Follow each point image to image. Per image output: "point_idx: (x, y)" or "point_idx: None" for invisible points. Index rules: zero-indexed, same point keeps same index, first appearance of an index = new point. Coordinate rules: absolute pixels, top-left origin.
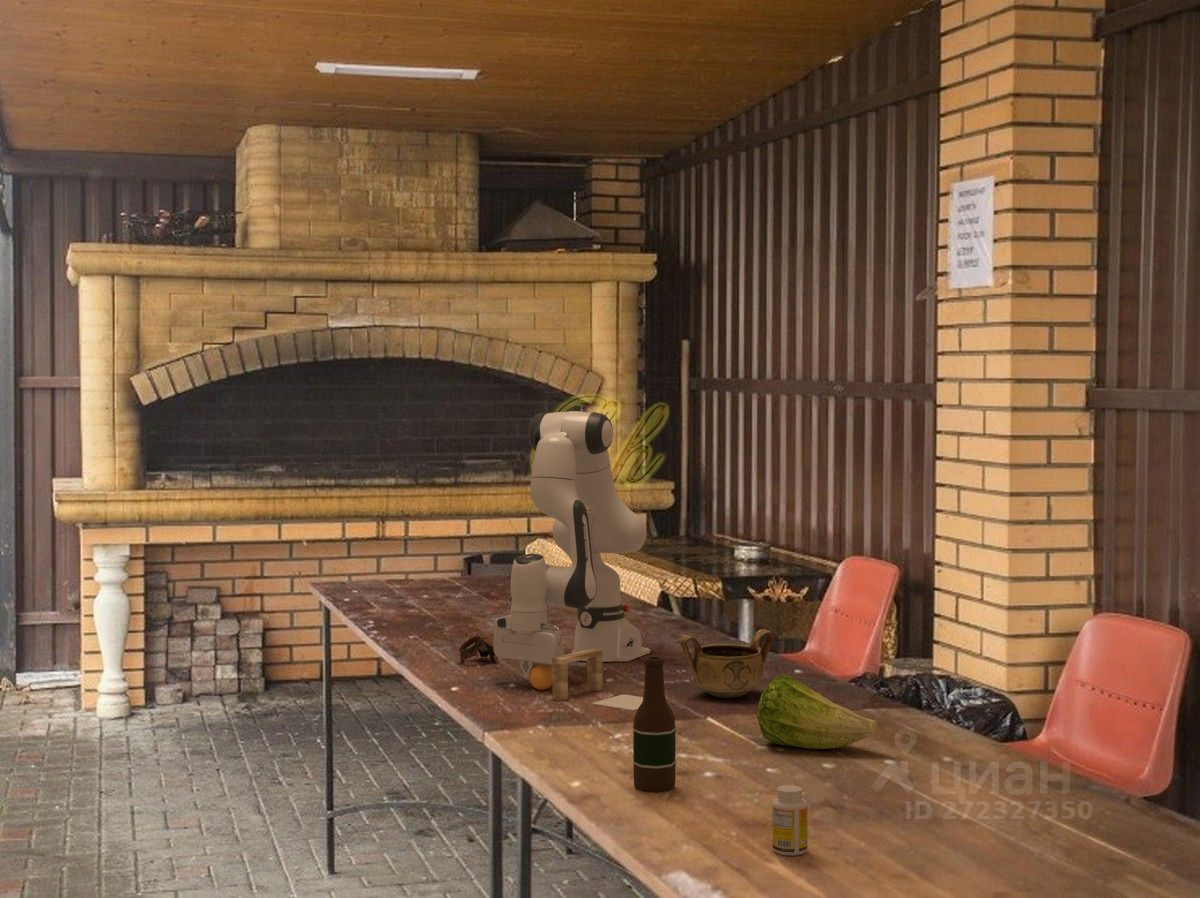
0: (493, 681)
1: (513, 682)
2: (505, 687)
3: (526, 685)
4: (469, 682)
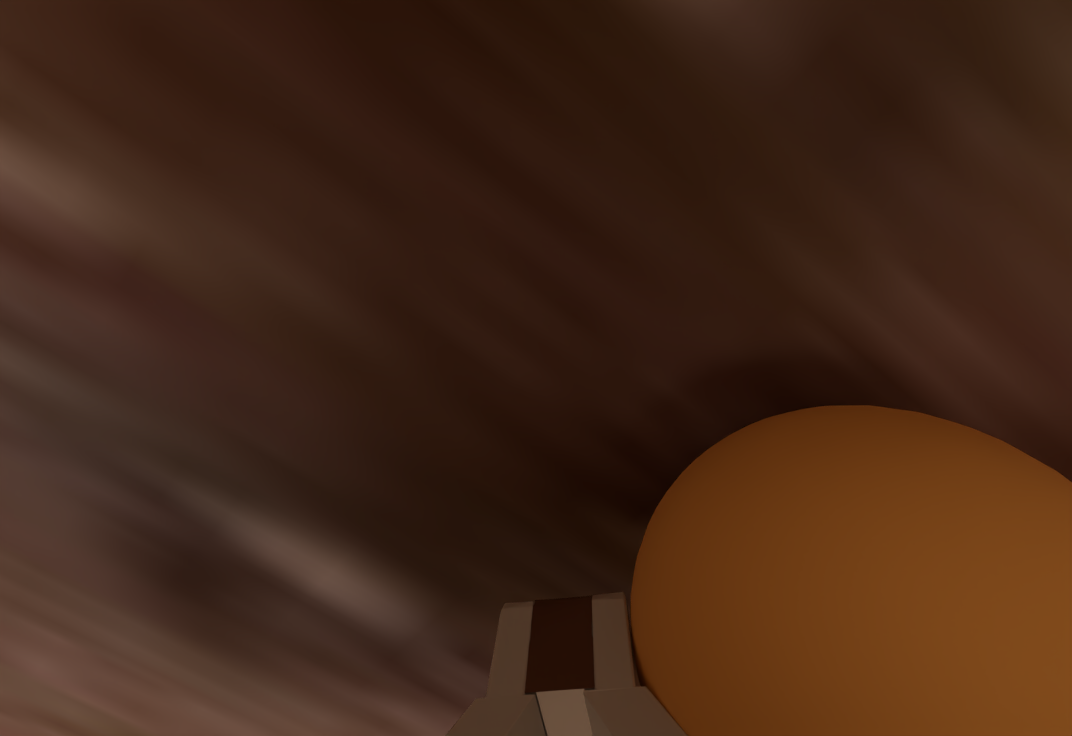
0: (43, 587)
1: (191, 481)
2: (395, 672)
3: (440, 480)
4: (9, 732)
